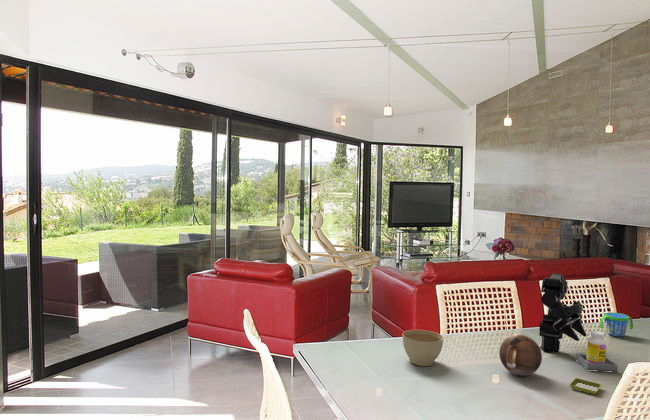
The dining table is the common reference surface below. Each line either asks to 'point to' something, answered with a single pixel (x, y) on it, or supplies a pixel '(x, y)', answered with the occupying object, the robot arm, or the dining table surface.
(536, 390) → the dining table surface
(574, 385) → the green rectangular frame
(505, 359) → the wooden sphere
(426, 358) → the planter bowl
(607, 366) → the tray
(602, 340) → the supplement bottle
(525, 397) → the dining table surface
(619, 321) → the snack cup
